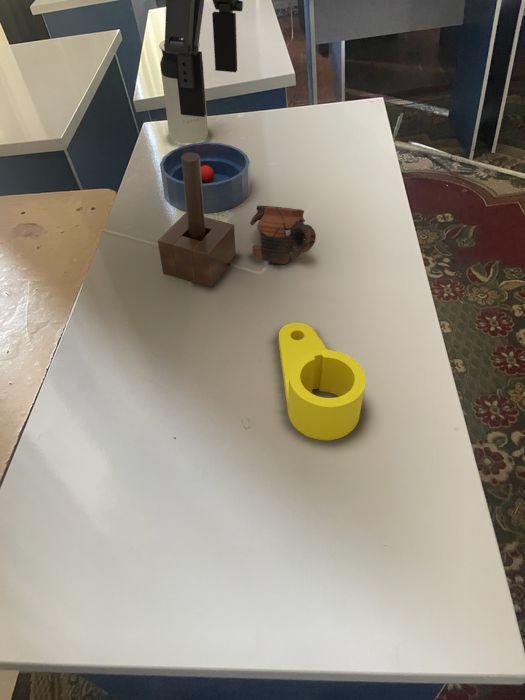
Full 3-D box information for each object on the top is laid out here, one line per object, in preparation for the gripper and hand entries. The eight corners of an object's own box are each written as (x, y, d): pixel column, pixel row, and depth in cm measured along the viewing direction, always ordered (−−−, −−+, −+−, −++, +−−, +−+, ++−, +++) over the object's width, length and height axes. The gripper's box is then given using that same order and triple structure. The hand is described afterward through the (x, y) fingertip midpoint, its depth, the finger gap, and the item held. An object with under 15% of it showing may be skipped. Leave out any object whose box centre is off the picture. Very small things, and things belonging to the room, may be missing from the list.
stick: (188, 267, 86) (177, 159, 73) (196, 258, 88) (187, 150, 74) (202, 272, 86) (194, 163, 72) (210, 263, 87) (203, 154, 74)
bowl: (148, 205, 99) (142, 173, 95) (191, 166, 109) (188, 136, 104) (225, 225, 94) (223, 193, 90) (263, 183, 104) (263, 151, 100)
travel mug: (168, 131, 119) (156, 37, 106) (206, 128, 120) (198, 35, 107) (171, 148, 114) (158, 52, 101) (210, 145, 115) (203, 49, 102)
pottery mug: (235, 257, 89) (239, 203, 87) (272, 256, 96) (277, 206, 94) (296, 269, 82) (302, 210, 80) (332, 266, 89) (338, 212, 87)
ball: (195, 183, 102) (193, 168, 100) (203, 176, 104) (201, 161, 102) (209, 187, 102) (208, 171, 99) (217, 179, 103) (216, 164, 101)
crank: (369, 432, 65) (377, 398, 60) (299, 446, 63) (301, 413, 59) (321, 327, 77) (325, 292, 73) (261, 337, 76) (261, 303, 71)
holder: (162, 274, 85) (157, 240, 81) (189, 244, 91) (186, 212, 86) (211, 288, 83) (207, 254, 79) (236, 257, 88) (234, 224, 84)
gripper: (193, -126, 44) (211, 140, 59) (265, -155, 61) (264, 57, 76) (102, -129, 45) (143, 133, 60) (198, -157, 62) (210, 52, 77)
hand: (211, 91), depth 68 cm, fingers open, 13 cm apart
